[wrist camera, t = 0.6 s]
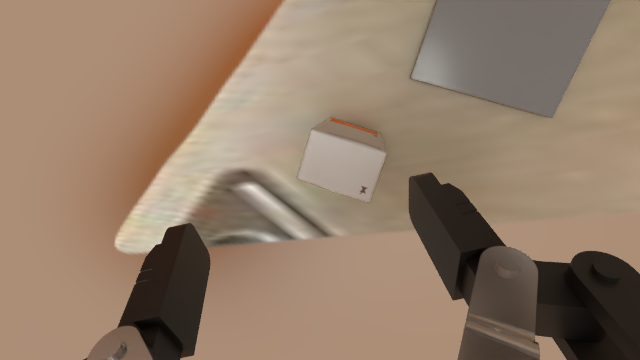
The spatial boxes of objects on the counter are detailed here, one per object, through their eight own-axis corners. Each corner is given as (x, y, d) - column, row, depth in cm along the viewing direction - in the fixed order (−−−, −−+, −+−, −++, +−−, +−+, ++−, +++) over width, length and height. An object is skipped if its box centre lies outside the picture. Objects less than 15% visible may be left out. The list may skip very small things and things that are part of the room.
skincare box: (382, 131, 34) (390, 153, 23) (369, 168, 35) (370, 206, 24) (328, 114, 34) (310, 127, 23) (317, 151, 36) (294, 181, 24)
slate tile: (465, -83, 28) (468, -89, 27) (624, -42, 27) (634, -47, 26) (409, 78, 32) (411, 78, 31) (546, 116, 31) (552, 117, 30)
